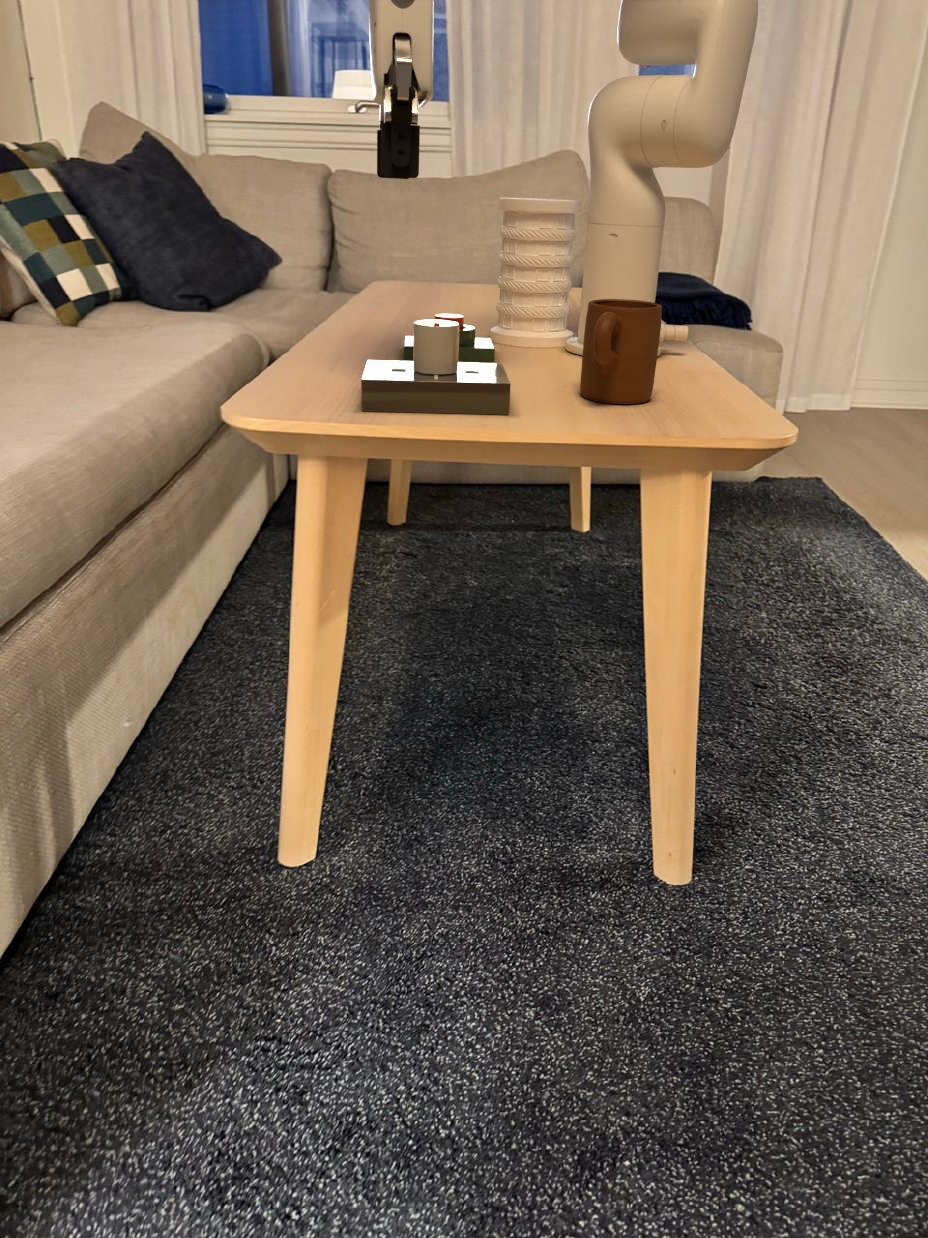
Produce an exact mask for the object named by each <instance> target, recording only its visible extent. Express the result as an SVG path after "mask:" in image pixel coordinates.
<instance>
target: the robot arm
mask: <svg viewBox="0 0 928 1238" xmlns="http://www.w3.org/2000/svg"><path fill="white" fill-rule="evenodd" d="M434 5H435V4H434V0H368V34H369V35H368V38H369V39H368V40H369V63H370V64H369V65H370V76H371V77H370V78H371V87H372V97H373V102H375V103H376V104H377V105H378V106H379V119H378V120H379V121H378V123H379V124H378V125H379V126H378V127H379V128H378V129H377V130H376V175H377V176H378V178H381V179H395V180H397V179H399V180H409V179H416V178H418V177H419V175H420V143H421V139H420V138H421V125H420V124H419V125H418V123H419V108H420V109H421V108H425V106H426V105H427V104H428V103H429V102H431V101H432V100H433V97H434V26H435V25H434V23H435V22H434V19H435V18H434V17H435V16H434V15H435V14H434V7H435V6H434ZM618 13H619V14H618V21H617V28H616V29H617V33H616V34H617V35H616V42H617V47H618V51H619V52H620V55H621V56H622V58H624V60H626V61H627V62H628V63H631V64H633V65H638V66H647V67H649V66H650V67H659V66H689V65H694V72H693V73H692V74H691V73H690V74H649V75H647V74H646V75H630V76H623V77H620V78H616V79H614V80H611V81H609V82H608V83H605V84H604V85H603V86H602V87H601V88H600V89H599V90H598V91H597V92H596V93H595V95H594V97H593V99H592V101H591V102H590V106H589V109H588V113H587V140H588V151H589V168H590V172H589V173H590V174H589V175H590V181H589V183H590V184H589V185H590V186H589V200H588V201H589V203H588V214H587V224H586V225H587V227H586V237H585V249H584V261H583V270H582V271H583V272H582V283H581V295H580V297H581V298H580V306H579V307H580V308H579V317H578V318H579V319H578V330H577V336H573V338H569V339H567V340H566V344H565V346H564V348H565V350H566V351H568V352H569V353H572V354H574V355H578V356H582V355H583V344H584V332H585V322H586V316H587V310H588V303H589V302H590V301H592V300H600V299H626V300H639V301H647V302H652V303H656V296H657V290H658V289H657V288H658V279H659V271H660V264H661V263H660V262H661V256H662V247H663V238H664V230H665V222H666V213H667V212H666V211H667V209H666V201H665V196H664V192H663V190H662V188H661V186H660V183H659V181H658V179H657V176H656V174H655V172H654V169H657V168H678V169H679V168H680V169H681V168H682V169H700V168H708V167H711V166H714V165H715V164H717V163H718V162H720V160H722V158H724V156H725V155H726V153H727V151H728V150H729V147H730V145H731V142H732V141H733V137H734V133H735V129H736V127H737V121H738V116H739V114H740V113H739V112H740V107H741V103H742V102H741V101H742V98H743V93H744V89H745V85H746V79H747V75H748V71H749V66H750V62H751V57H752V53H753V47H754V42H755V37H756V31H757V27H758V26H757V25H758V18H759V0H621V2H620V7H619V12H618ZM688 337H689V326H688V325H683V324H682V325H680V324H679V325H678V324H665V323H664V322H661V331H660V339H659V343H663V342H664V340H666V341H677V342H678V341H679V342H680V341H681V342H682V341H683V342H685V341H688ZM661 354H662V345H661V344H659V347H658V355H657V357H659V356H660V355H661Z"/></svg>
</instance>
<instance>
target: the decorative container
mask: <svg viewBox="0 0 928 1238" xmlns="http://www.w3.org/2000/svg"><path fill="white" fill-rule="evenodd" d="M582 202H583V201H582V200H576V199H559V198H557V199H556V198H538V197H537V198H533V197H499V198H498V209H499V210H500V211H502V213H503V215H502V216H503V217H502V225H501V226H500V230H499V233H500V238H501V250H500V251H499V253H498V260H499V264H500V275H499V276H498V279H497V286H498V289H499V298H498V299H499V300H497V303H496V312H497V314H498V320H497V325H495V326H493V327H491V328H490V335H489V338H490V339H491V341H492V342H493V343H498V344H500V345H506V346H513V347H524V348H560V347H565V344H566V340H567V339H569V338H573V337H574V332H573V331H572V330H570V329H568V328H567V322H568V321H567V320H568V316H569V315H570V312H571V305H570V303H569V298H570V292H571V291H572V287H573V283H572V282H573V281H572V279H571V273H572V272H571V271H572V267H573V266H574V262H575V256H574V254H573V247H574V241H576V237H577V228H575V222H576V214H579V213H581V211H582Z"/></svg>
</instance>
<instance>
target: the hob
mask: <svg viewBox="0 0 928 1238" xmlns="http://www.w3.org/2000/svg"><path fill="white" fill-rule="evenodd" d="M360 382H361V383H360V385H361V386H360V387H361V388H360V391H361V392H360V395H361V397H360V398H361V412H375V413H381V412H382V413H415V414H453V415H454V414H455V415H456V414H457V415H493V416H494V415H495V416H509V415H510V403H511V387H512V384H511V381H510V378H509V376H508V374H507V371H506V369H505V367H504V365H503V363H495V362H494V363H487V362H458V371H457V372H456V373H453V374H446V375H432V374H423V373H418V372H416V371H414V370H413V360H381V359H367V360H366V363H365V367H364V370H363V372H362V377H361V379H360Z"/></svg>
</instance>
